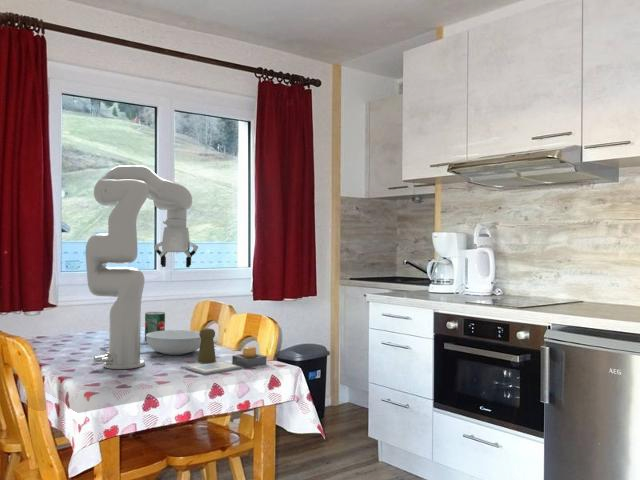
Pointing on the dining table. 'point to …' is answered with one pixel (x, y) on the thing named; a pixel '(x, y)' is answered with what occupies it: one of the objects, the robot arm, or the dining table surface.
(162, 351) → the serving bowl
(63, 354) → the dining table surface
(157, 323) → the canned tomato
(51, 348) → the dining table surface
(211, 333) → the cork
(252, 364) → the button housing
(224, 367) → the board
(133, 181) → the robot arm
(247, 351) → the button
